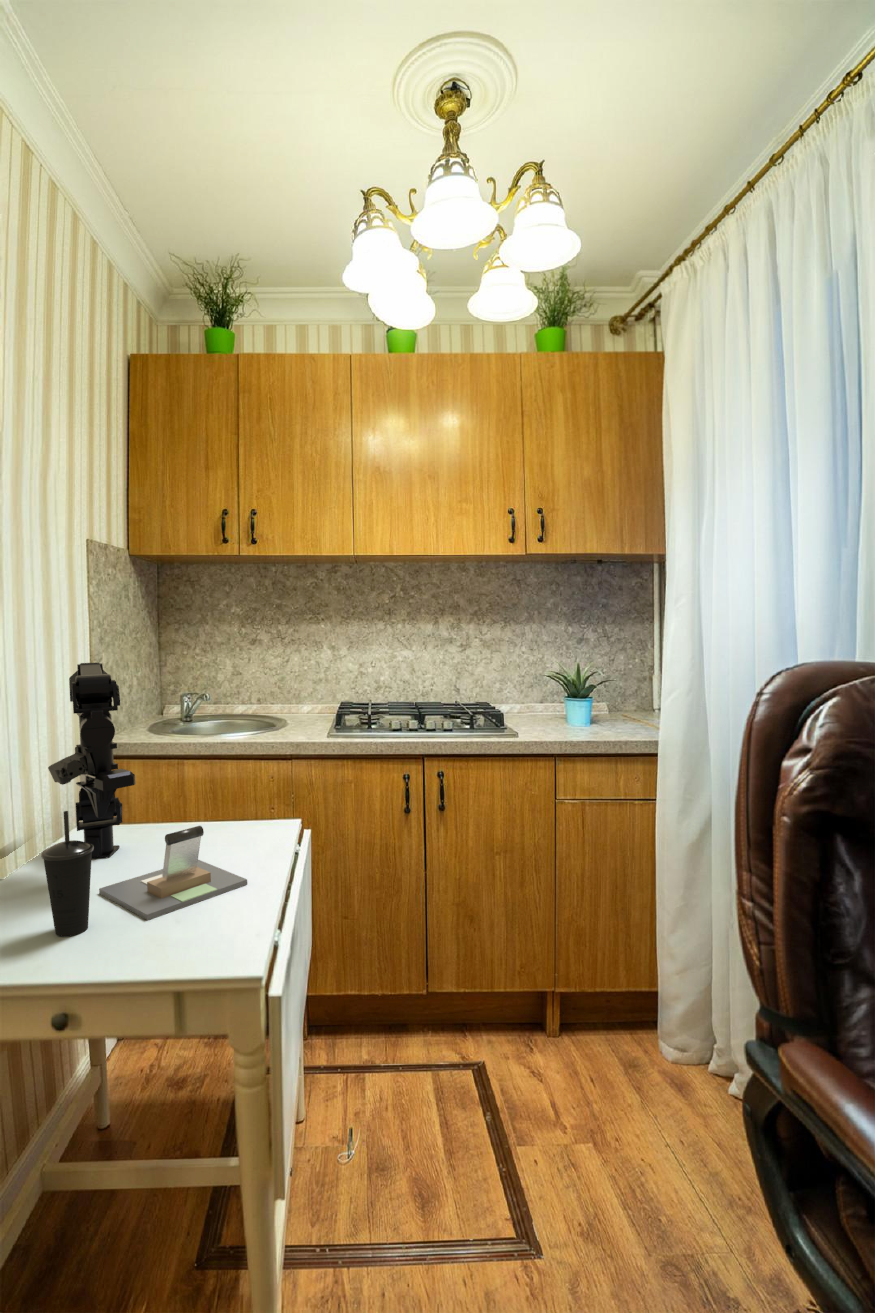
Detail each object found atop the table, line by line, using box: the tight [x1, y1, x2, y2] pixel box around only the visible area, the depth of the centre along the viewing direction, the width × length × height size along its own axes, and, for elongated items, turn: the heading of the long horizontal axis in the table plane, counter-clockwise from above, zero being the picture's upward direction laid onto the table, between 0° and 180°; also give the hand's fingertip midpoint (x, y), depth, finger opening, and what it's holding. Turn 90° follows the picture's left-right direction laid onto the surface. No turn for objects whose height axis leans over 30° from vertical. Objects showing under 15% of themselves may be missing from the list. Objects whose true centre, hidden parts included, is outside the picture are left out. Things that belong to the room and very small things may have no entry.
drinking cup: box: [40, 810, 94, 938], centre depth 117 cm, size 8×8×20 cm
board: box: [98, 859, 248, 921], centre depth 135 cm, size 18×20×3 cm
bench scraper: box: [162, 825, 205, 881], centre depth 132 cm, size 2×7×9 cm, turn 140°
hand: (100, 817), depth 141 cm, fingers closed
